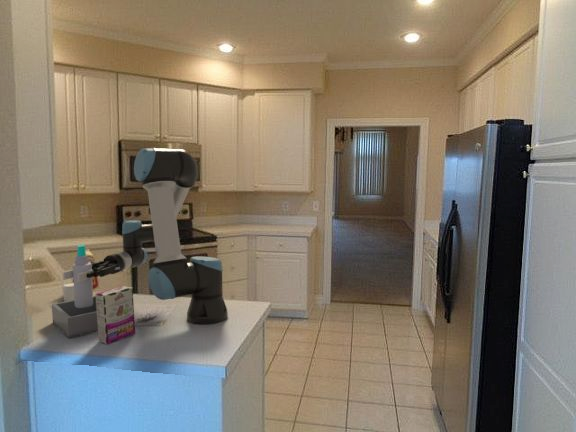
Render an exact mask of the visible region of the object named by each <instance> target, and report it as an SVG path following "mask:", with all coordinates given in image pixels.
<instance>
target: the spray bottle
mask: <svg viewBox="0 0 576 432" xmlns="http://www.w3.org/2000/svg"><path fill="white" fill-rule="evenodd" d="M85 249H86V245H85V244H81V245H77V254H78V255H77V254H76V255H77V256H76V255H75V261H76V263H75V262H74V263H73V264H72V269H73V278H72V282H73V281H74V302H75V307H76V308H87V307H90V306H92V305H93V296H94V295H93V294H94V291H93V287H92V278H89V279H86V280H83V281H80V282H78V277H77V274H78V273H82V272H85V271H89V270H92V264H91V263H90V262H88V255H86V251H85Z"/></svg>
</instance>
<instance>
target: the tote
mask: <svg viewBox="0 0 576 432" xmlns="http://www.w3.org/2000/svg"><path fill="white" fill-rule="evenodd" d="M51 313H52V314H51V315H52V323H53V324H54V325H55V327H57V328H58V330H59V331H60V332H61V333H62V334H63V335H64V336H65V337H67V339H69V340H70V339H74V338H78V337H81V336H83V337H84V336H86V335H90V334H91V335H92V334H94V333H98V324H97V310H96V295H95V296H94V295H93V305H92V306H90V307H87V308H76V307H75V302H74V300H71V301H66V302H65V301H62V302H57V303H51Z"/></svg>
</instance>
